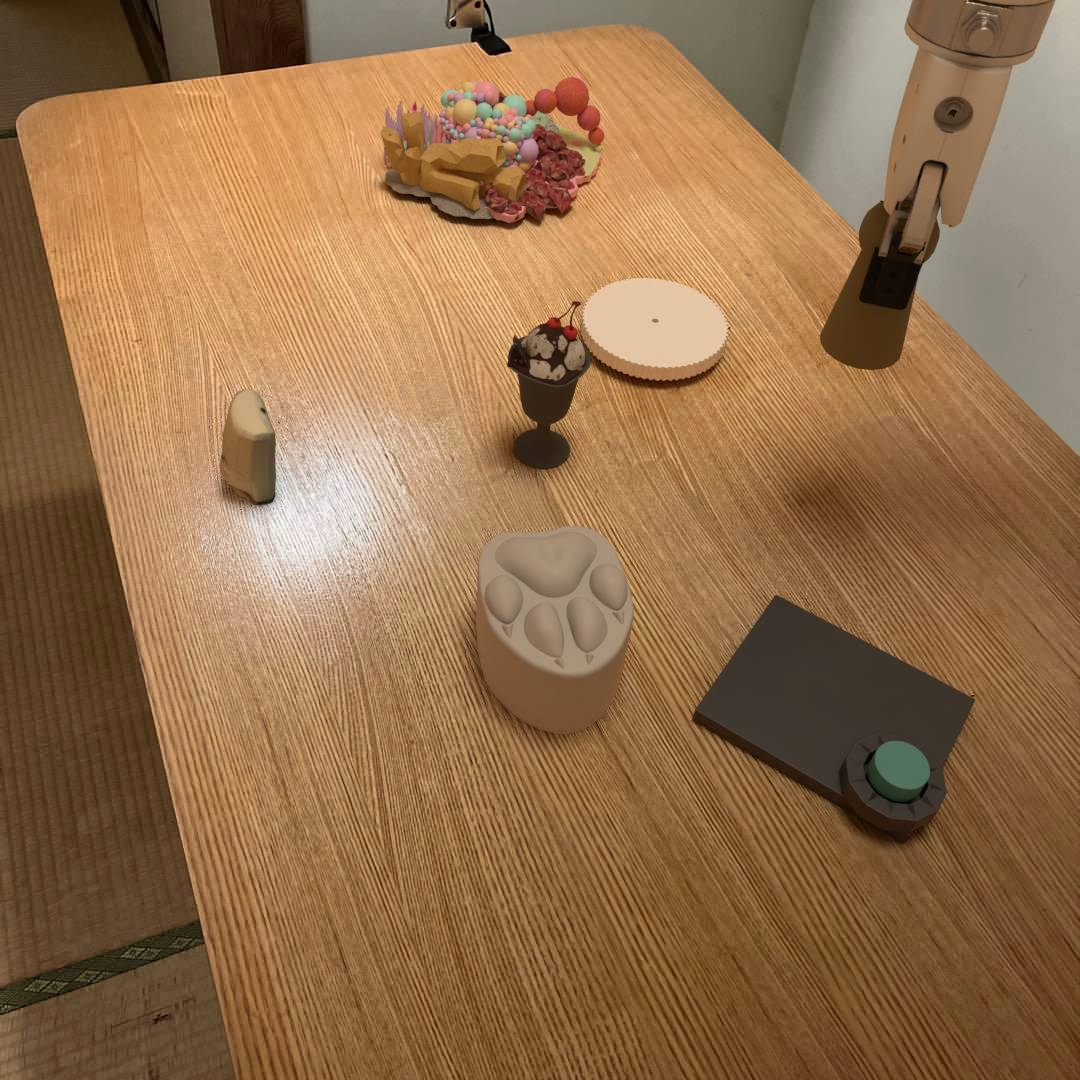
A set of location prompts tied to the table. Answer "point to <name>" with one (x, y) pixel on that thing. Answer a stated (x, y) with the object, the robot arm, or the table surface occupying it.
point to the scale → (833, 713)
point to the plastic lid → (654, 329)
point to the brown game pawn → (869, 306)
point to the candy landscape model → (495, 151)
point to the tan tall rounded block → (249, 449)
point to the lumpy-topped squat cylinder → (553, 625)
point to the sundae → (547, 387)
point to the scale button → (898, 771)
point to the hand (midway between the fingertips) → (884, 277)
